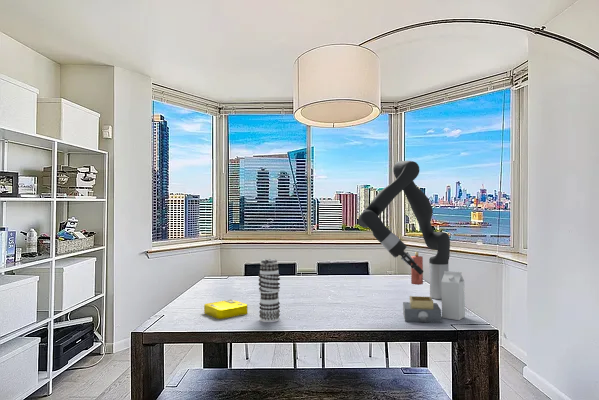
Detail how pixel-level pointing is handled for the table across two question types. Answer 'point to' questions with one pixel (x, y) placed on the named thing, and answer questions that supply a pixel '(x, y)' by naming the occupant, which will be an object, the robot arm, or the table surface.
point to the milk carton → (453, 295)
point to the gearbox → (421, 310)
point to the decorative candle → (269, 290)
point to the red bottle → (415, 276)
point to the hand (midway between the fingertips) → (421, 272)
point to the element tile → (225, 309)
